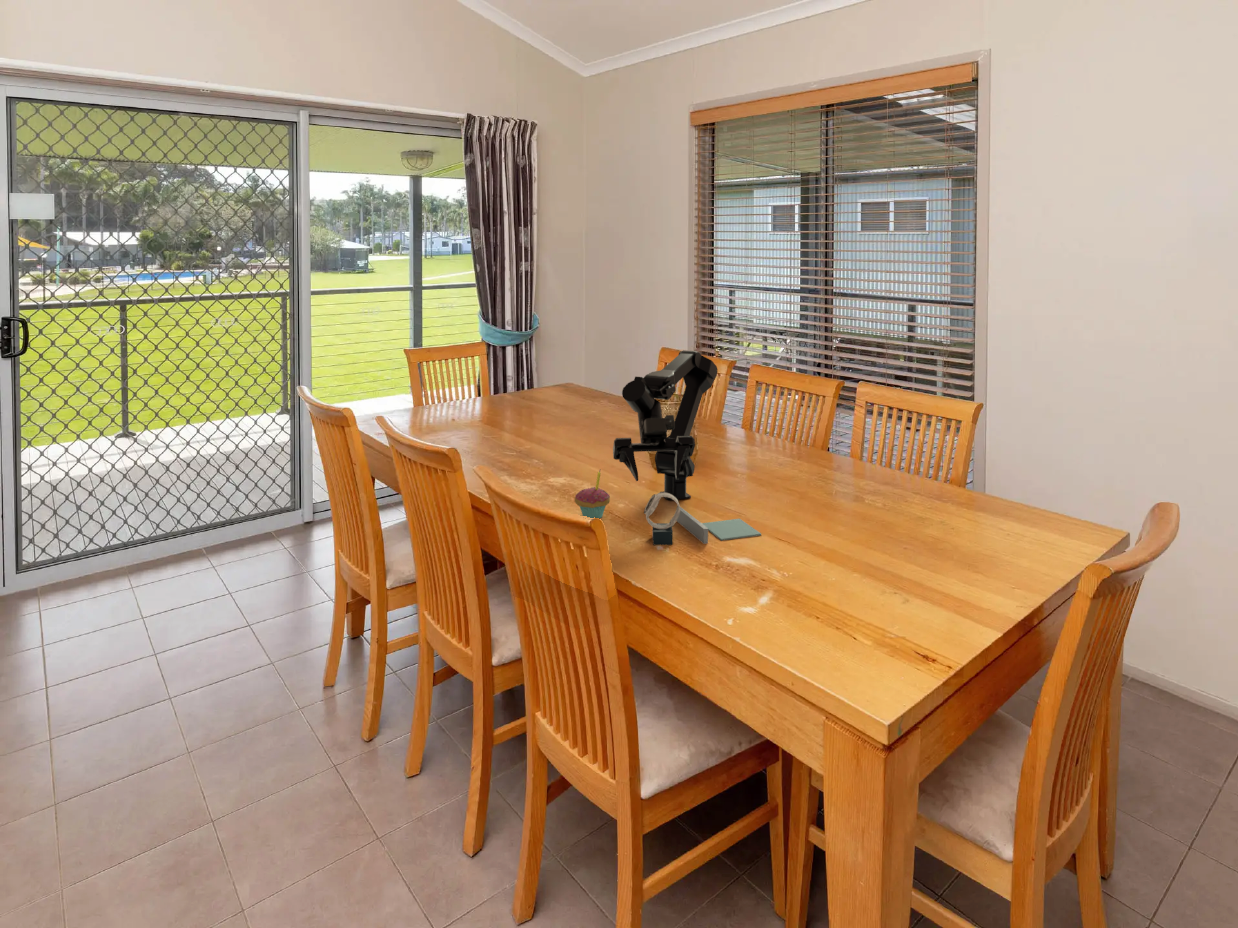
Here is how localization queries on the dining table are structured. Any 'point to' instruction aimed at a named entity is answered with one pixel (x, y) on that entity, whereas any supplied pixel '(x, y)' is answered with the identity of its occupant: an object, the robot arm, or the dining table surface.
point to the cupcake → (592, 500)
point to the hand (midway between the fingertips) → (657, 479)
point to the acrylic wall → (693, 526)
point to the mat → (731, 529)
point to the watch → (661, 531)
